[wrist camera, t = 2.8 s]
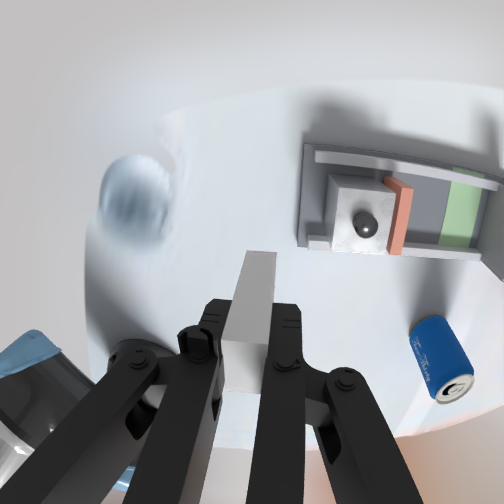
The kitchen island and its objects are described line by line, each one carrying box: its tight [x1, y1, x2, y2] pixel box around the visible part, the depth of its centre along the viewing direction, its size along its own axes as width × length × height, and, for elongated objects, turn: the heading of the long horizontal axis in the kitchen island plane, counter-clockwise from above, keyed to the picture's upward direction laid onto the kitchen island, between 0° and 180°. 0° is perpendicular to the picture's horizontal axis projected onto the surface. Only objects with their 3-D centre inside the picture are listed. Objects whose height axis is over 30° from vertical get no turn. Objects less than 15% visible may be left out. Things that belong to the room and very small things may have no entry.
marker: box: [384, 176, 414, 255], centre depth 26 cm, size 1×6×5 cm, turn 179°
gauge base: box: [297, 143, 504, 282], centre depth 26 cm, size 28×11×8 cm, turn 89°
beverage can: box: [410, 316, 475, 404], centre depth 31 cm, size 6×6×12 cm
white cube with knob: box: [324, 174, 396, 255], centre depth 26 cm, size 5×6×7 cm
